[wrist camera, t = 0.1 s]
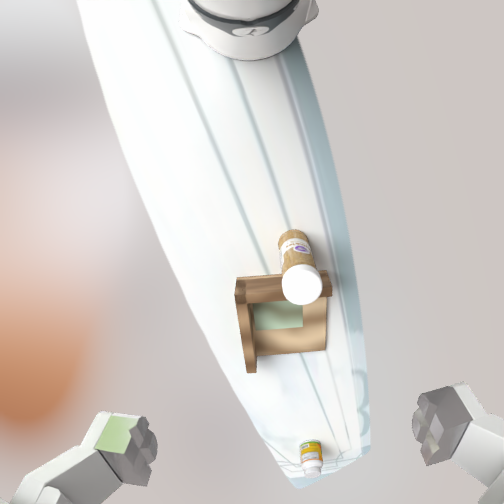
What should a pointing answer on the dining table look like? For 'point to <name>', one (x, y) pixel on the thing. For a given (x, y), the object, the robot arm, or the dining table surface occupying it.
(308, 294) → the sprinkles bottle
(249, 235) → the dining table surface
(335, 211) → the dining table surface
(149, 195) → the dining table surface
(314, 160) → the dining table surface
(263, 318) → the corner arena
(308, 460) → the supplement bottle
